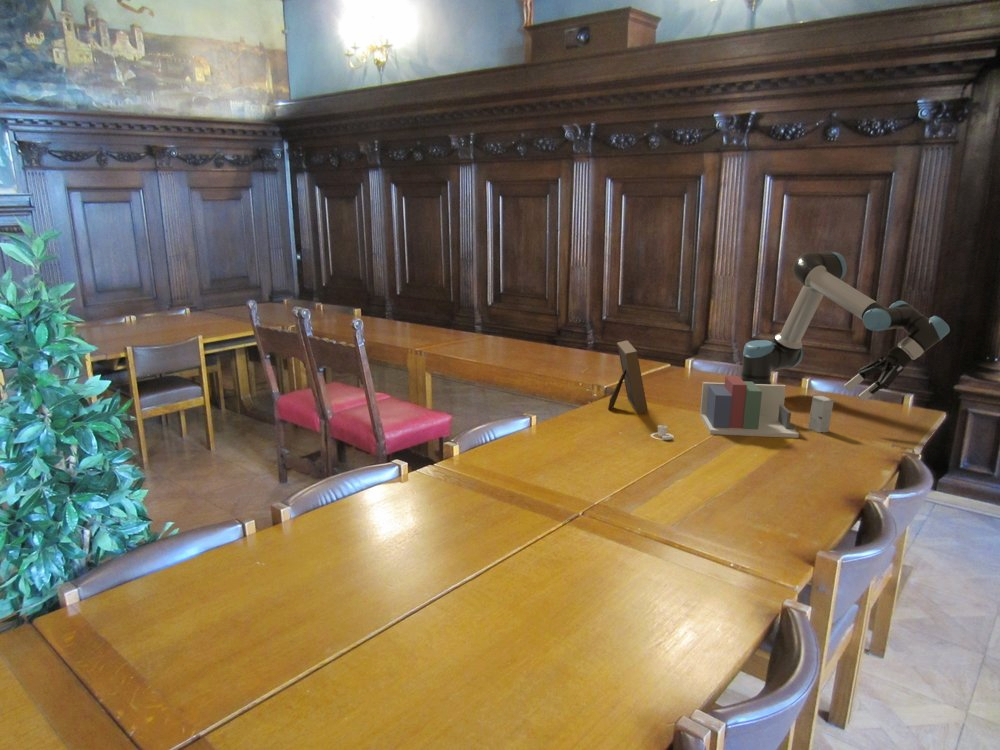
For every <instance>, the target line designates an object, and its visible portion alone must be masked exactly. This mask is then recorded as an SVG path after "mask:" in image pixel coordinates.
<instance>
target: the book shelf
mask: <svg viewBox="0 0 1000 750" xmlns="http://www.w3.org/2000/svg"><path fill="white" fill-rule="evenodd" d="M701 387H702V388H701V401H700V411H699V413H700V419H701V420H702V422H703V424H704V426H705V427H706V429H707V431H708V433H709V435H723V436H724V435H727V436H745V437H746V436H747V437H748V436H749V437H751V436H752V437H768V438H769V437H770V438H772V437H775V438H793V439H796V438H797V439H798V438H799V436H800V433H799V432H798V431H797V430H796V428H795V427H794V425H792V424H791V417H792V412H791V411H790V410H789V408H787V407H786V406H785V397H786V389H787V386H786V385H785V384H771V385H769V384H754V383H753V382H749V381H743V380H742V379H741V376H739V375H725V376H724V382H706V381H702V386H701Z"/></svg>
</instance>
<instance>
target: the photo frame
mask: <svg viewBox="0 0 1000 750" xmlns="http://www.w3.org/2000/svg"><path fill="white" fill-rule="evenodd" d="M616 344H617V349H618V350H617V351H618V355H619V360H620V365H621V371H622V374H621V376H620V377H619V378H620V379H619V380H618V382H617V384H616V387H614V390H613V392H612V395H611V396H610V398H609V402H608V405H607V406H608V407H607V410H611V409H613V408H615V407H614V406H615V404H616V402H617V399H618V396H619V393H620V391H621V387H622V385H623V383H624V387H625V391H626V396H627V400H628V402H629V403H630V405H631V407H632V408H633V410H634V412H635V414H636V415H639V414H640V415H641V414H644V413H648V412H649V409H648V404H647V398H646V392H645V388H644V383H643V382H644V381H643V377H642V372H641V371H642V370H641V366H640V362H639V361H640V360H639V356H638V350H637V349H636V348H635V347H634V346H633V345H632V344H631V342H630V341H628V340H623V341H618V342H616Z"/></svg>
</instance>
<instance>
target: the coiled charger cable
mask: <svg viewBox="0 0 1000 750" xmlns="http://www.w3.org/2000/svg"><path fill="white" fill-rule="evenodd" d="M667 430H668V426H667V425H664V424H658V425H657V432H653V433H652V432H651V434H650V437H651V438H653V439H656V440H659V441H668V440H669V441H670V440H673V439H674V438H675V437H674V435H673V434H671V433H667ZM655 435H658V437H655Z"/></svg>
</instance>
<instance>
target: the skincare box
mask: <svg viewBox="0 0 1000 750" xmlns="http://www.w3.org/2000/svg"><path fill="white" fill-rule="evenodd" d="M833 407H834V399H831V398H829V397H827V396H823V395H816V396H815V395H814V396H812V401H811V406H810V412H809V413H810V414H809V420H808V426H807V428H808V429H810V430H811V431H814V432H816V433H821V432H823V433H829V432H830V431H829V430H830V425H831V419H832V413H833ZM821 434H822V433H821Z"/></svg>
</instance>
